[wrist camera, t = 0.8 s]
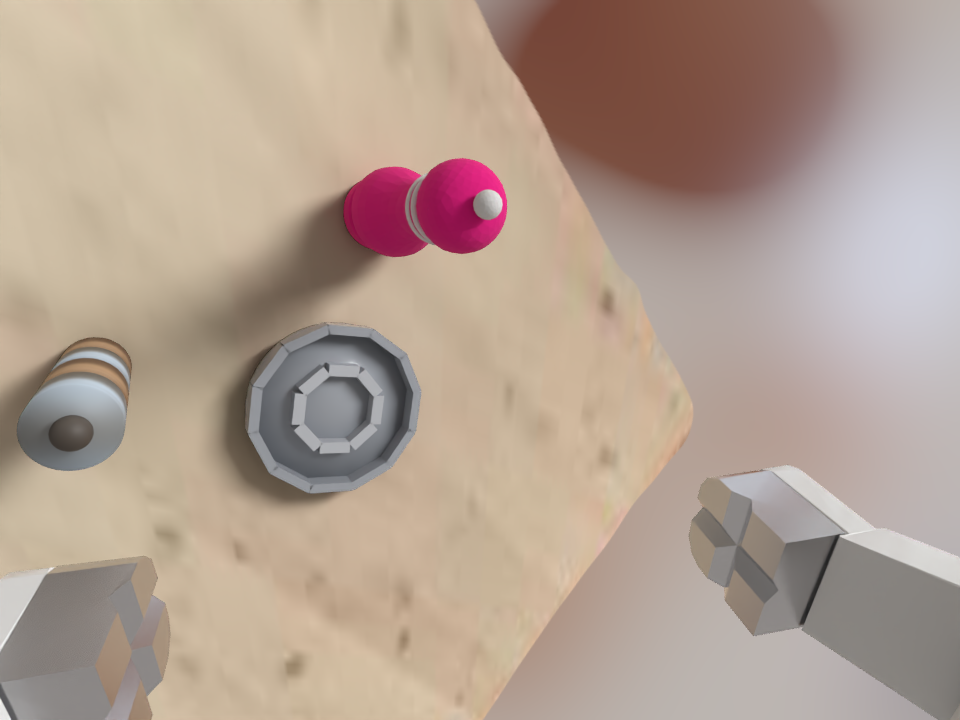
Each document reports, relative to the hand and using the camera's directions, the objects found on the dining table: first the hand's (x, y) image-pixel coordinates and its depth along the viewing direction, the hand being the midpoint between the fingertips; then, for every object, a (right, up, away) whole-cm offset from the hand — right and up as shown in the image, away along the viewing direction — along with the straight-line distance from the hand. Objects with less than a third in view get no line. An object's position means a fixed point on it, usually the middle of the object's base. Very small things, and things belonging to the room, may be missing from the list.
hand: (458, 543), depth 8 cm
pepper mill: (-9, +16, +41) cm, 45 cm away
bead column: (-28, +2, +33) cm, 43 cm away
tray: (-13, -1, +43) cm, 45 cm away
